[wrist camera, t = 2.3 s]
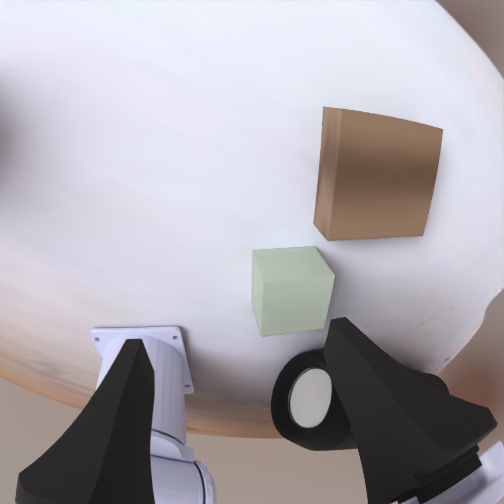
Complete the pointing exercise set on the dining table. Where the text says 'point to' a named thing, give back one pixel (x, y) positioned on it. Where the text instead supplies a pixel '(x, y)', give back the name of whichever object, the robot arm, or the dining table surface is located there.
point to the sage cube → (290, 290)
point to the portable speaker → (316, 404)
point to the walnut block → (374, 175)
